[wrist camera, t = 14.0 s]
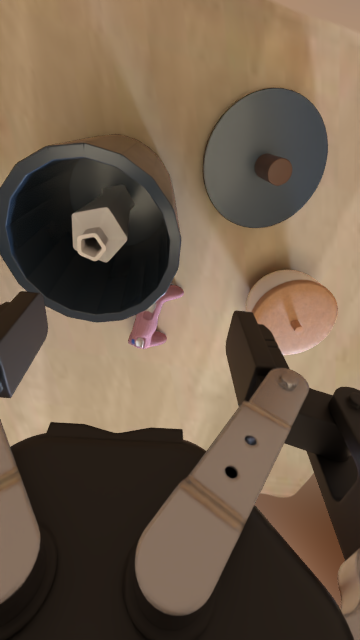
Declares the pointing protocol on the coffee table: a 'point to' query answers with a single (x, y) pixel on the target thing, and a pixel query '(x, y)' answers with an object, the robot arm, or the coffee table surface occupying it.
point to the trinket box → (293, 309)
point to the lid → (265, 157)
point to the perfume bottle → (102, 224)
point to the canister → (56, 227)
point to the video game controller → (152, 322)
